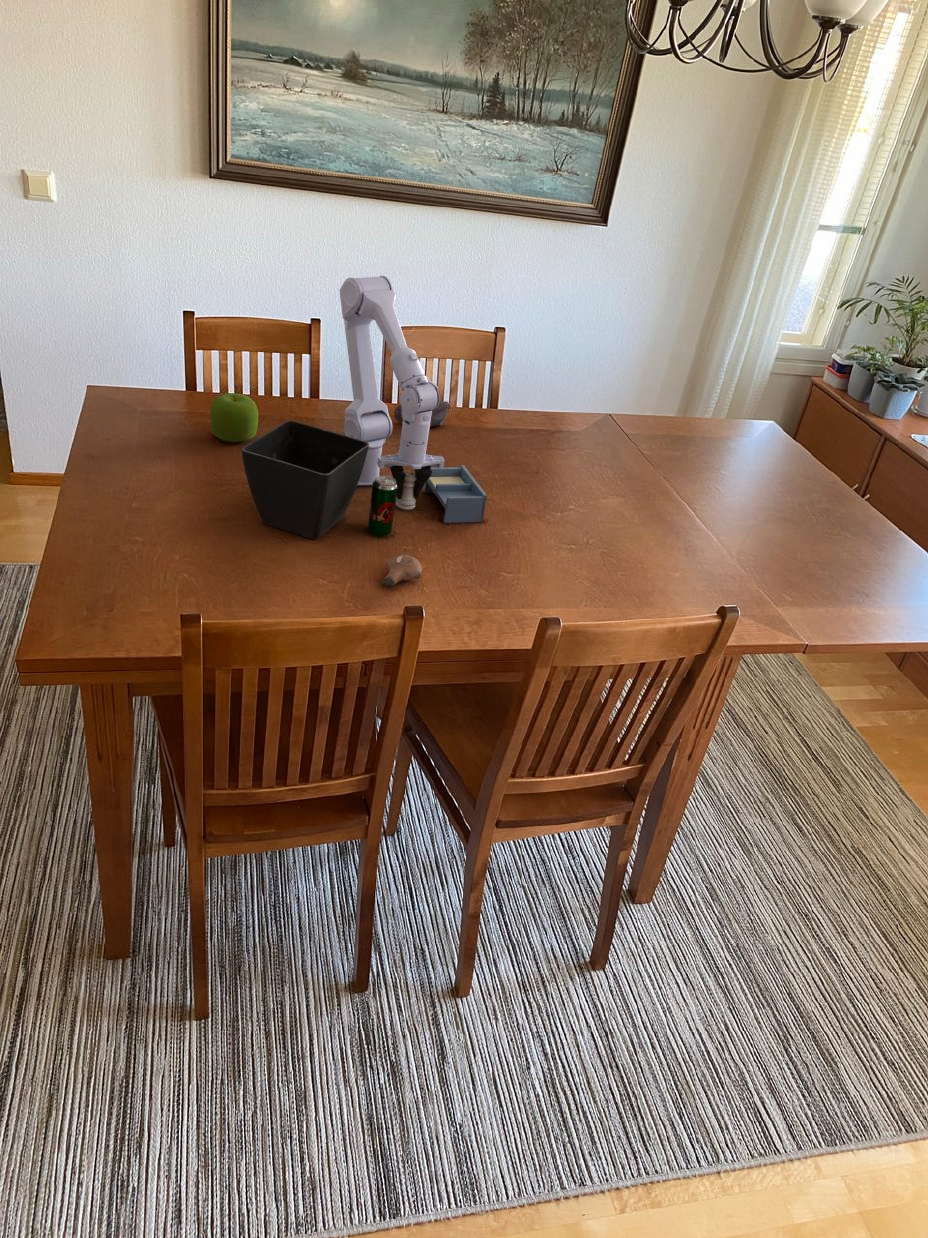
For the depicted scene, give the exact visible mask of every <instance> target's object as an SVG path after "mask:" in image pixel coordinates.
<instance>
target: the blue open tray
mask: <svg viewBox="0 0 928 1238" xmlns="http://www.w3.org/2000/svg"><path fill="white" fill-rule="evenodd" d="M431 470H432V475H431V477H430V478H429V479H428V480H427V481H426V483H425V484H424V486H423V493H425V494H433V493H434V495H435V496H436V498H437V499H438V501H439V502H440V504H441V505H442V506H443V508H444V514H443V520H442V522H443V523H444V524H449V523H450V524H454V523H482V522H483V519H484V515H485V509H486V504H487V499H488V495H487V493H486V492H485V491H484V489H483V488H482V487H481V486H480V484H479V483H478V482H477V480H476V479H475V478H474V477H473V475H472V474H471V472H470V471H469V470H468V469H467V467H466V466H465V465H464V464H463V465H460V467H457V466H456V467H454V466H453V467H450V466H449V467H443V468H439V467H431Z"/></svg>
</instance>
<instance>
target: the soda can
mask: <svg viewBox="0 0 928 1238" xmlns="http://www.w3.org/2000/svg"><path fill="white" fill-rule="evenodd" d="M370 494H371V495H370V503H369V511H368V519H367V520H368V522H367V531H368V532H369V534H371V535H372V536H373V537H377V538H378V537H379V538H386V537H387V536H390V535H391V534H392V532H393V525H394V524H393V523H394V517H395V509H396V501H397V500H396V499H397V497H396V495H397V484H396V480H395V479H394V478H393V476H390V475H380V476H377V477H376V478H375V481H374V482H373V484H372V485H371V492H370Z"/></svg>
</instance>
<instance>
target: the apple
mask: <svg viewBox="0 0 928 1238" xmlns="http://www.w3.org/2000/svg"><path fill="white" fill-rule="evenodd" d="M209 410H210V411H209V413H210V414H209V415H210V417H209V419H210V426H211V428H210V429H211V434H212V435H213V436H215V437H216V438H218V439H219V440H220V441H222V442H224V443H228V444H240V443H244V442H245V441H248V440H250V439H252V438H254V437H255V436H256V435H257V431H258V427H259V426H258V425H259V409H258V407H257V404H256V402H255V401H254V400H253V399H252V398H251V397H249V396H248V395H245V394H241V393H237V392H228V393H223V394H220V395H217V396H216V397H215V398H214V399H213V400H212V401H211V403H210V409H209Z"/></svg>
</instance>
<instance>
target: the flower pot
mask: <svg viewBox="0 0 928 1238" xmlns="http://www.w3.org/2000/svg"><path fill="white" fill-rule="evenodd" d="M368 447H369V443H367V442H365V441H361V440H358V439H355V438H351V437H348V436H345V434H341V433H337V432H334V431H330V430H328V429H327V430H326V429H323V428H320V427H316V426H312V425H309V424H306V423H302V422H299V421H296V420H286V421H284V422H282V423H280V424H279V425H278V426H276V427H274V428H273V429H271V430H270V431H268V432H266V433H265V434H263V435H261V436H259V437H257V438H255V439H254V440H252V441H251V442H249V443H247V444H246V445H244V446H242V447H241V457H242V463H243V468H244V472H245V477H246V480H247V484H248V487H249V492H250V494H251V496H252V499H253V502H254V505H255V507H256V510H257V512H258V515H259V517H260V520H261V521H262V523H263V524H265V525H268V526H269V527H270V526H271V527H274V528H276V529H279V530H283V531H286V532H290V533H292V534H295V535H298V536H301V537H305V538H307V539H311V540H319V538H321V537H322V536H323V535H324V534H325V533H326V532H328V531H329V530H330V529H331V528H333V527H334V526H335V525H336V524H337V523H339V522H340V520H342V519H343V518H344V517H345V515H346V513H347V511H348V509H349V507H350V504H351V502H352V500H353V497H354V495H355V493H356V490H357V487H358V486H359V485H358V482H359V479H360V476H361V473H362V470H363V467H364V463H365V459H366V456H367V452H368Z"/></svg>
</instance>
